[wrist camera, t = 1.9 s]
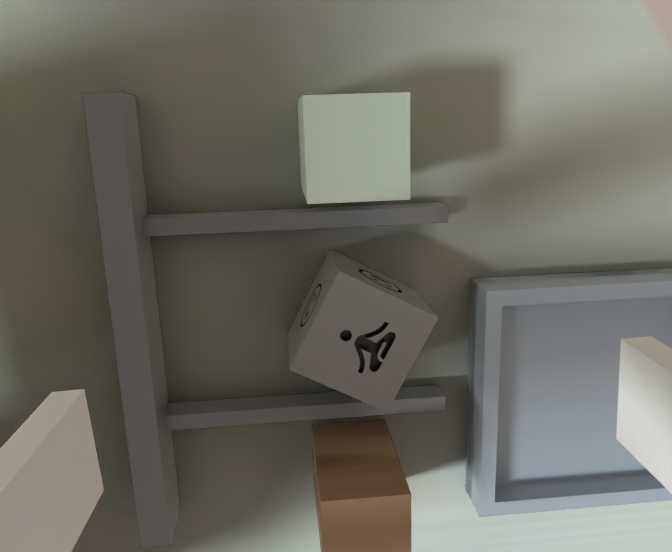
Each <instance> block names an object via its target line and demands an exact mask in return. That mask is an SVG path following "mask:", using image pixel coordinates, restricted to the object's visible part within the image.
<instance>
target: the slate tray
mask: <svg viewBox="0 0 672 552" xmlns="http://www.w3.org/2000/svg"><path fill="white" fill-rule="evenodd" d="M647 336H652V337H653V338H655V339H657V340H658V341H660V342H662V343H663V344H665V345H667V346H668V347H670V348H671V349H672V268H657V269H639V270H620V271H602V272H584V273H565V274H547V275H529V276H510V277H492V278H474V279H471V296H470V337H469V379H468V421H467V462H466V491H467V493H468V495H469V497H470V499H471V501H472V503H473V505H474V507H475V509H476V511H477V513H478V515H479V516H480V517H485V516H496V515H508V514H519V513H531V512H542V511H554V510H565V509H577V508H588V507H599V506H611V505H622V504H634V503H645V502H657V501H668V500H672V494H671V493H670V492H669V491H668V490H667V489H666V488H665V487H664V486H663V485H662V484H661V483H660V482H659V481H658V480H657V479H656V478H655V477H654V476H653V475H652V474H651V473H650V472H649V471H648V470H647V469H646V468H645V467H644V466H643V465H642V464H641V463H640V462H639V461H638V460H637V459H636V458H635V457H634V456H633V455H632V454H631V453H630V452H629V451H628V450H627V449H626V448H625V447H624V446H623V445H622V444H621V443H620V442H619V441H618V440H617V439H616V433H617V411H618V389H619V368H620V346H621V339H625V338H636V337H647Z"/></svg>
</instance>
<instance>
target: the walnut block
mask: <svg viewBox="0 0 672 552" xmlns="http://www.w3.org/2000/svg"><path fill="white" fill-rule="evenodd" d="M312 438H313V460H314V482H315V496H316V506H317V516H318V525H319V535H320V545H321V552H411V492H410V490H409V487H408V484H407V481H406V479H405V476H404V473H403V470H402V468H401V465H400V462H399V459H398V456H397V454H396V451H395V448H394V445H393V443H392V440H391V437H390V434H389V431H388V429H387V426H386V423H385V420H372V421H358V422H345V423H331V424H317V425H312Z"/></svg>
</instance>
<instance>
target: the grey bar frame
mask: <svg viewBox="0 0 672 552" xmlns="http://www.w3.org/2000/svg"><path fill="white" fill-rule="evenodd" d="M82 97H83V105H84V113H85V120H86V128H87V136H88V144H89V151H90V159H91V167H92V174H93V182H94V190H95V198H96V205H97V213H98V221H99V229H100V236H101V244H102V252H103V260H104V267H105V275H106V283H107V291H108V298H109V306H110V314H111V322H112V329H113V337H114V345H115V353H116V360H117V368H118V376H119V384H120V391H121V399H122V407H123V414H124V422H125V430H126V438H127V445H128V453H129V461H130V469H131V476H132V484H133V492H134V500H135V507H136V515H137V523H138V531H139V538H140V546H141V548H145V547H156V546H168V545H171V543H172V539H173V535H174V531H175V528H176V524H177V520H178V516H179V512H180V502H179V493H178V483H177V474H176V465H175V456H174V446H173V437H172V430H181V429H194V428H208V427H222V426H236V425H250V424H263V423H277V422H291V421H305V420H319V419H333V418H346V417H360V416H374V415H388V414H402V413H415V412H429V411H443V410H445V395H444V393H443V392H442V390H441V388H440V387H439V385H424V386H409V387H401V388H400V390H399V391H398V393H397V395H396V397H395V399H394V401H393V402H392V404H391V406H390V408H389V410H388V411H387V412H386V411H384V410H382V409H379V408H377V407H375V406H372V405H370V404H368V403H365V402H363V401H361V400H358V399H356V398H354V397H351V396H349V395H347V394H344V393H342V392H339V391H336V392H322V393H307V394H293V395H278V396H264V397H249V398H235V399H220V400H205V401H191V402H176V403H169V400H168V391H167V382H166V373H165V363H164V354H163V345H162V336H161V327H160V317H159V308H158V299H157V290H156V280H155V271H154V262H153V253H152V244H151V236H169V235H191V234H212V233H233V232H255V231H276V230H298V229H319V228H340V227H362V226H383V225H405V224H426V223H447V222H448V206H447V205H445V204H443V203H441V202H434V203H411V204H388V205H366V206H343V207H320V208H297V209H275V210H252V211H229V212H206V213H184V214H161V215H148V207H147V197H146V188H145V179H144V170H143V161H142V151H141V142H140V133H139V124H138V114H137V105H136V96H135V95H131V94H126V93H121V92H105V93H82Z"/></svg>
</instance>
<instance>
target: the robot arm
mask: <svg viewBox="0 0 672 552" xmlns="http://www.w3.org/2000/svg"><path fill="white" fill-rule="evenodd" d="M616 439H617V440H618V441H619V442H620V443H621V444H622V445H623V446H624V447H625V448H626V449H627V450H628V451H629V452H630V453H631V454H632V455H633V456H634V457H635V458H636V459H637V460H638V461H639V462H640V463H641V464H642V465H643V466H644V467H645V468H646V469H647V470H648V471H649V472H650V473H651V474H652V475H653V476H654V477H655V478H656V479H657V480H658V481H659V482H660V483H661V484H662V485H663V486H664V487H665V488H666V489H667V490H668V491H669V492H670V493H671V494H672V349H671V348H670V347H668V346H667V345H665V344H663V343H662V342H660V341H658V340H657V339H655V338H653V337H652V336H647V337H636V338H625V339H621V346H620V368H619V389H618V411H617V433H616ZM103 491H104V488H103V483H102V477H101V472H100V467H99V462H98V457H97V452H96V446H95V441H94V436H93V431H92V426H91V420H90V415H89V410H88V405H87V400H86V395H85V389H79V390H68V391H57V392H51V393H50V395H49V396H48V397H47V398H46V399H45V400H44V401H43V402H42V403H41V404H40V406H39V407H38V408H37V409H36V410H35V411H34V412H33V413H32V414H31V415H30V416H29V418H28V419H27V420H26V421H25V422H24V423H23V424H22V425H21V426H20V427H19V429H18V430H17V431H16V432H15V433H14V434H13V435H12V436H11V437H10V438H9V439H8V441H7V442H6V443H5V444H4V445H3V446H2V447H1V448H0V552H72V550H73V548H74V546H75V544H76V542H77V540H78V539H79V537H80V535H81V533H82V531H83V529H84V527H85V525H86V523H87V521H88V520H89V518H90V516H91V514H92V512H93V510H94V508H95V506H96V504H97V503H98V501H99V499H100V497H101V495H102V493H103Z"/></svg>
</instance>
